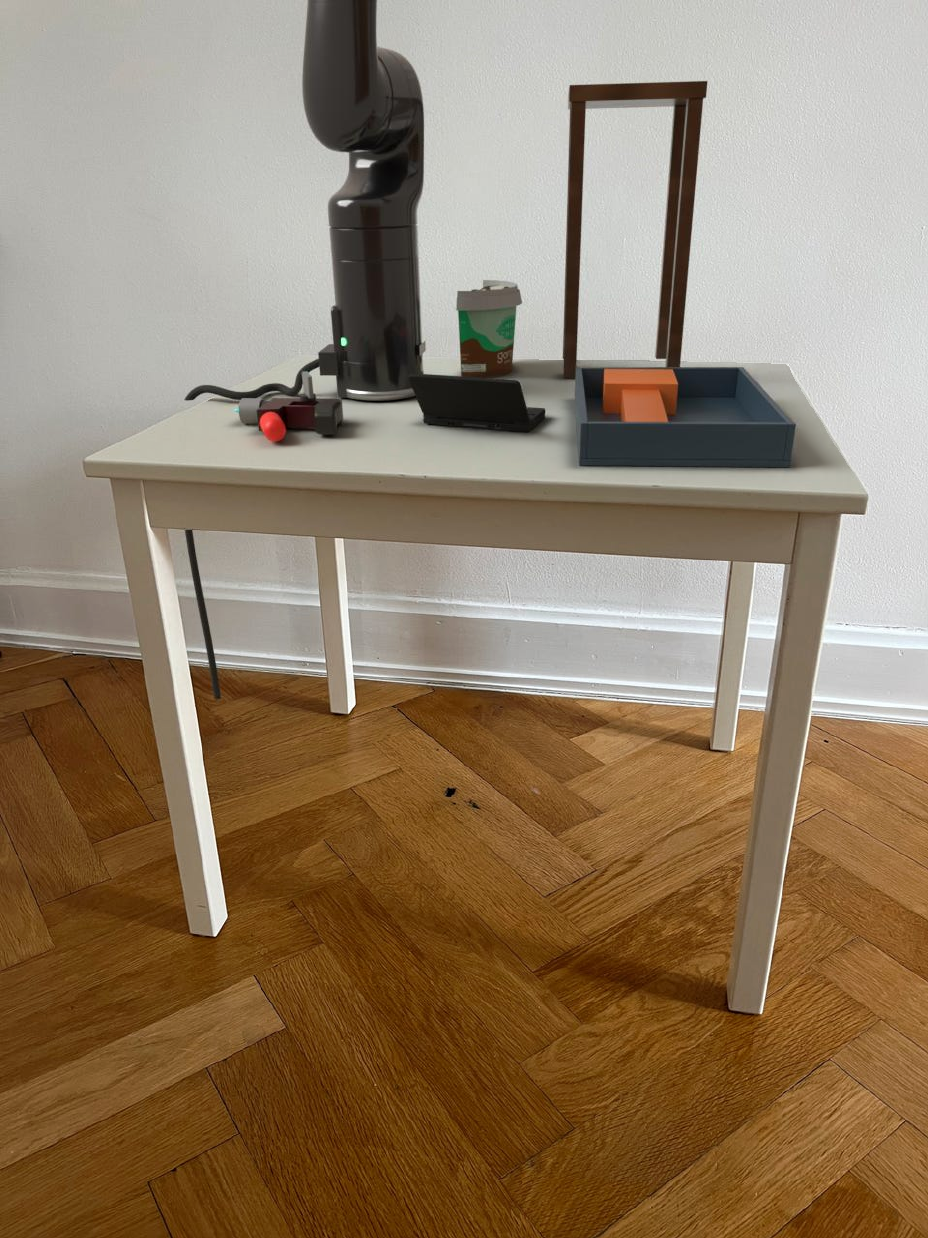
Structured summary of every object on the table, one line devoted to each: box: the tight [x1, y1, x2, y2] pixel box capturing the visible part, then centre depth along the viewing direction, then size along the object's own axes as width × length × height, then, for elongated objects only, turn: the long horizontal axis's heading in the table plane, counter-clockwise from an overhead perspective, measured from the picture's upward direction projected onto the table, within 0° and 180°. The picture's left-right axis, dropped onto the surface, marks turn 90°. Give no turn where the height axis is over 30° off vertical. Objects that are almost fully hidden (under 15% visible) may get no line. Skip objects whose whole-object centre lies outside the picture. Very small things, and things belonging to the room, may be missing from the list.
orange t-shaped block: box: [603, 369, 678, 422], centre depth 84 cm, size 7×22×3 cm, turn 173°
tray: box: [574, 366, 797, 468], centre depth 84 cm, size 17×23×4 cm
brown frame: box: [562, 80, 708, 380], centre depth 105 cm, size 14×14×30 cm
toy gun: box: [232, 371, 344, 442], centre depth 86 cm, size 10×12×5 cm
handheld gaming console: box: [409, 373, 546, 433], centre depth 87 cm, size 12×7×10 cm
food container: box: [455, 279, 523, 378], centre depth 109 cm, size 12×6×10 cm, turn 164°
